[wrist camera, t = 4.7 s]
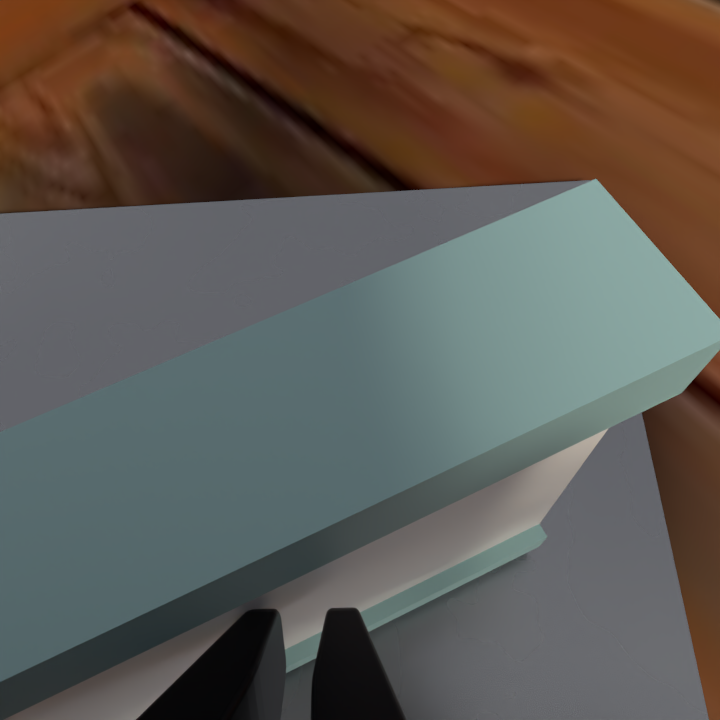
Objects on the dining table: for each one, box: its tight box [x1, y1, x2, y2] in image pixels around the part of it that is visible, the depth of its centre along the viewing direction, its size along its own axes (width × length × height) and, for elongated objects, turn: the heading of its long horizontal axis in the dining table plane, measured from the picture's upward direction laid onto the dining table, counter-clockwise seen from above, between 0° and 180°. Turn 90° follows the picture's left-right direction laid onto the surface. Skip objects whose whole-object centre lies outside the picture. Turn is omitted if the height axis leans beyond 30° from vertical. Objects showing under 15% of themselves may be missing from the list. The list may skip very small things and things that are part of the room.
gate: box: [0, 179, 720, 720], centre depth 9 cm, size 17×2×10 cm, turn 114°
